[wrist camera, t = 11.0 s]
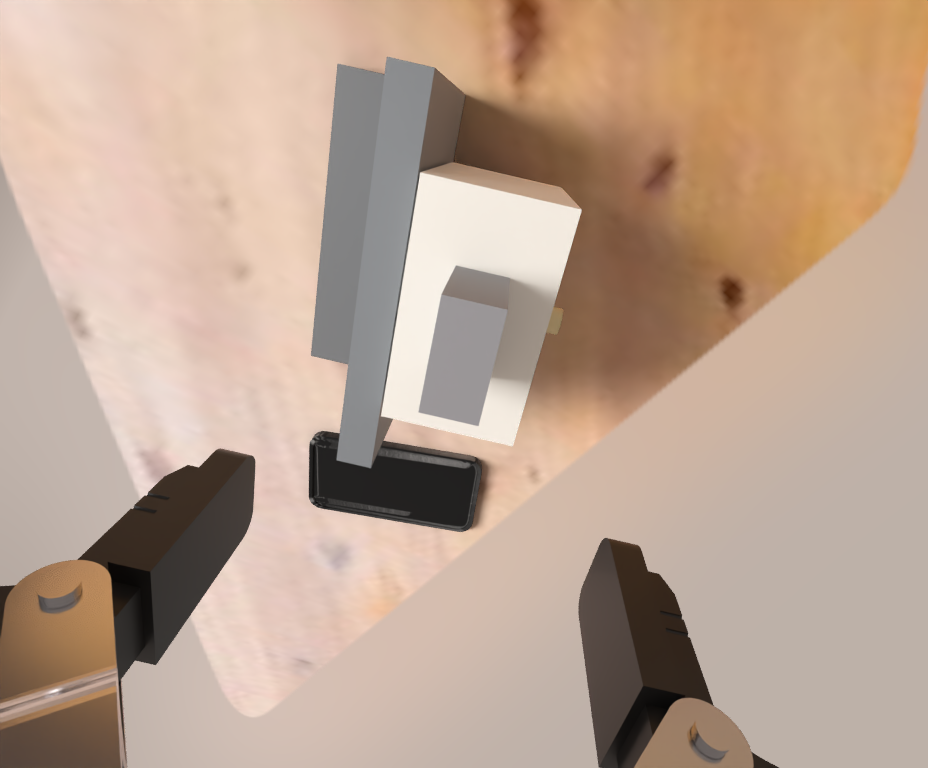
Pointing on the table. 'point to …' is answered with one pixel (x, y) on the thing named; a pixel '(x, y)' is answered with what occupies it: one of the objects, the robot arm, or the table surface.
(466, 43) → the table surface
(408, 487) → the phone
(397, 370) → the cabinet
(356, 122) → the wall board
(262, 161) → the table surface
